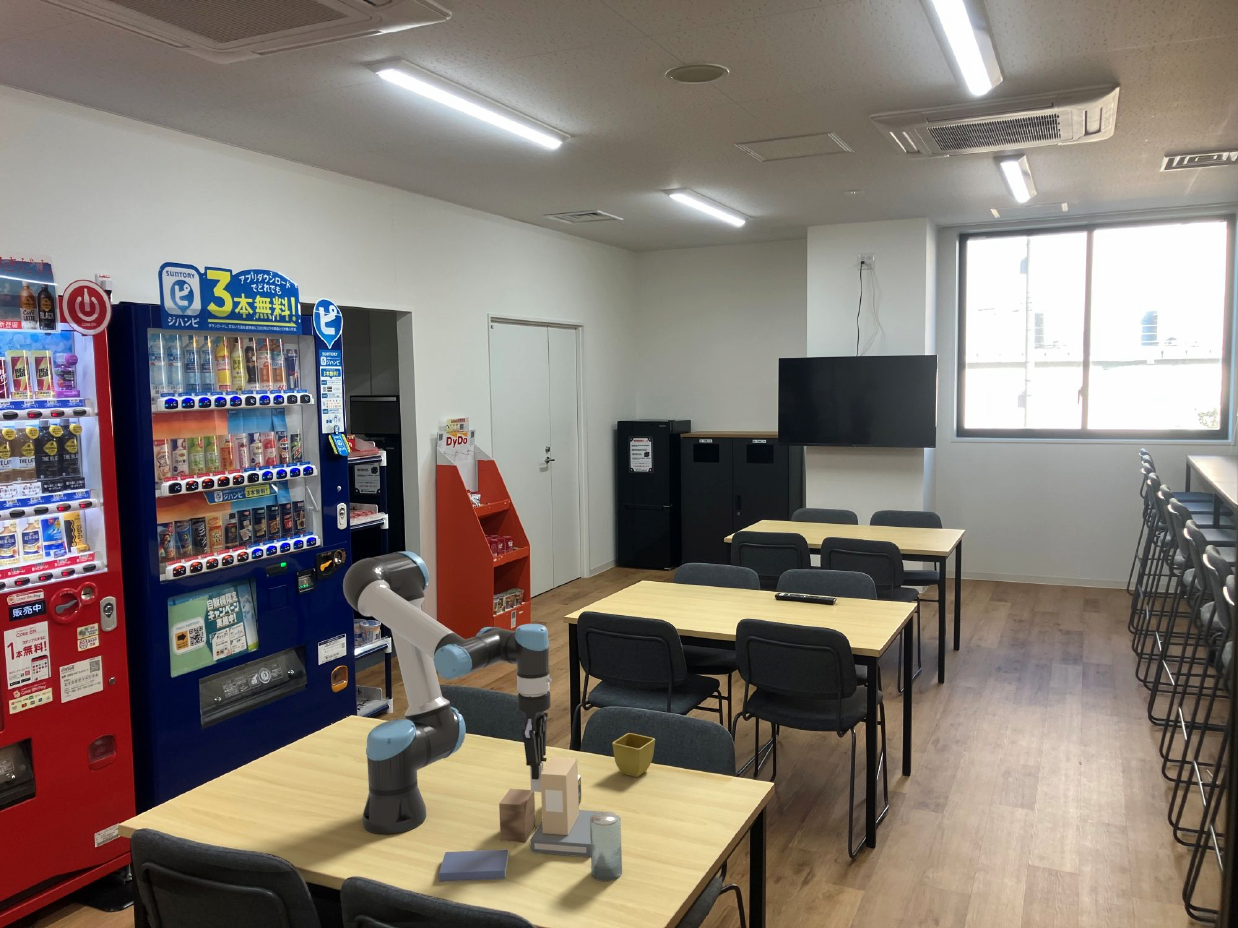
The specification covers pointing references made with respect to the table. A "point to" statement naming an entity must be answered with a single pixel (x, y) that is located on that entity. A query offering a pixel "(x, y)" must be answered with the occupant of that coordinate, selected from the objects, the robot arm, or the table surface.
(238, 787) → the table surface
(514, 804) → the rest block
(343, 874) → the table surface
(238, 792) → the table surface
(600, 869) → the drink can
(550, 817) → the carton
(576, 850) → the podium
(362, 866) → the table surface
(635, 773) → the flower pot
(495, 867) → the notebook
